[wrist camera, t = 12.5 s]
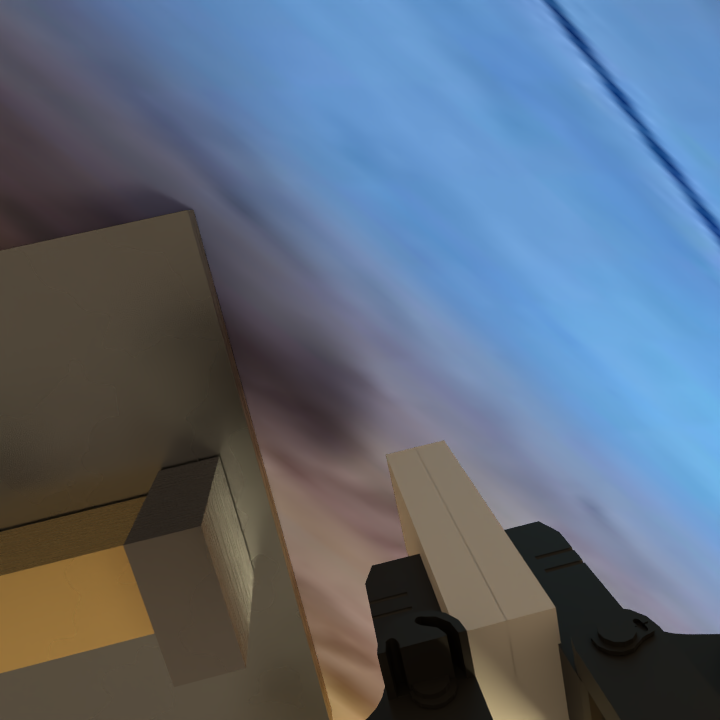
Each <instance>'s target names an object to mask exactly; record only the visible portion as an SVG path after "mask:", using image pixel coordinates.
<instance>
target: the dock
mask: <svg viewBox="0 0 720 720" xmlns="http://www.w3.org/2000/svg"><path fill="white" fill-rule="evenodd" d="M214 457H220V460H221V464H222V467H223V471H224V474H225V477H226V481H227V484H228V487H229V491H230V494H231V498H232V501H233V504H234V508H235V511H236V514H237V518H238V521H239V525H240V528H241V531H242V535H243V538H244V541H245V545H246V548H247V551H248V555H249V558H250V562H251V565H252V568H253V572H254V579H253V591H252V603H251V614H250V626H249V638H248V650H247V661H246V668H245V669H241V670H237V671H234V672H230V673H226V674H222V675H219V676H215V677H211V678H207V679H203V680H200V681H196V682H192V683H188V684H184V685H181V686H177V687H174V686H173V683H172V680H171V677H170V675H169V672H168V669H167V666H166V663H165V661H164V658H163V655H162V652H161V649H160V647H159V644H158V641H157V638H156V636H155V633H154V634H151V635H147V636H143V637H139V638H135V639H131V640H127V641H123V642H120V643H116V644H112V645H108V646H104V647H100V648H96V649H93V650H89V651H85V652H81V653H77V654H73V655H69V656H65V657H62V658H58V659H54V660H50V661H46V662H42V663H38V664H35V665H31V666H27V667H23V668H19V669H15V670H11V671H7V672H4V673H0V720H332V710H331V706H330V702H329V699H328V695H327V692H326V688H325V684H324V681H323V677H322V673H321V670H320V666H319V663H318V659H317V655H316V652H315V648H314V644H313V641H312V637H311V634H310V630H309V626H308V623H307V619H306V616H305V612H304V608H303V605H302V601H301V597H300V594H299V590H298V587H297V583H296V579H295V576H294V572H293V568H292V565H291V561H290V558H289V554H288V550H287V547H286V543H285V540H284V536H283V532H282V529H281V525H280V521H279V518H278V514H277V511H276V507H275V503H274V500H273V496H272V492H271V489H270V485H269V482H268V478H267V474H266V471H265V467H264V463H263V460H262V456H261V453H260V449H259V445H258V442H257V438H256V435H255V431H254V427H253V424H252V420H251V416H250V413H249V409H248V406H247V402H246V398H245V395H244V391H243V387H242V384H241V380H240V377H239V373H238V369H237V366H236V362H235V359H234V355H233V351H232V348H231V344H230V340H229V337H228V333H227V330H226V326H225V322H224V319H223V315H222V311H221V308H220V304H219V301H218V297H217V293H216V290H215V286H214V283H213V279H212V275H211V272H210V268H209V264H208V261H207V257H206V254H205V250H204V246H203V243H202V239H201V235H200V232H199V228H198V225H197V221H196V217H195V214H194V210H185V211H181V212H176V213H171V214H167V215H162V216H158V217H153V218H148V219H144V220H139V221H135V222H130V223H125V224H121V225H116V226H112V227H107V228H102V229H98V230H93V231H89V232H84V233H79V234H75V235H70V236H66V237H61V238H56V239H52V240H47V241H42V242H38V243H33V244H29V245H24V246H19V247H15V248H10V249H6V250H1V251H0V532H2V531H6V530H10V529H14V528H18V527H22V526H26V525H30V524H34V523H39V522H43V521H47V520H51V519H55V518H59V517H63V516H67V515H71V514H75V513H79V512H83V511H88V510H92V509H96V508H100V507H104V506H108V505H112V504H116V503H120V502H124V501H128V500H133V499H137V498H141V497H145V496H147V494H148V492H149V490H150V488H151V486H152V484H153V482H154V480H155V478H156V475H157V473H158V471H161V470H165V469H169V468H173V467H177V466H181V465H186V464H190V463H194V462H198V461H202V460H206V459H210V458H214Z"/></svg>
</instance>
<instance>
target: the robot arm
mask: <svg viewBox="0 0 720 720" xmlns="http://www.w3.org/2000/svg"><path fill="white" fill-rule="evenodd" d="M386 458H387V462H388V467H389V472H390V476H391V481H392V486H393V490H394V495H395V499H396V504H397V509H398V513H399V518H400V523H401V527H402V532H403V536H404V541H405V546H406V550H407V553H408V557H404V558H401V559H397V560H393V561H389V562H385V563H381V564H377V565H373V566H372V567H371V570H370V573H369V575H368V578H367V580H366V583H365V585H366V590H367V595H368V599H369V604H370V609H371V614H372V618H373V623H374V628H375V633H376V638H377V643H378V649H377V655H378V659H379V664H380V668H381V672H382V676H383V680H384V684H385V689H384V693H383V697H382V699H381V701H380V703H379V704H378V706H377V708H376V709H375V710H374V712H373V713H372V714H371V715H370V716H369V717H368V718H367V719H366V720H720V634H673V633H668V632H664V631H663V630H662V629H661V628H660V627H659V626H658V625H657V624H656V623H654V622H653V621H652V620H650V619H649V618H648V617H647V616H644V615H642V614H639V613H637V612H634V611H632V610H628V609H623V608H622V607H621V606H620V605H619V603H618V602H617V601H616V600H615V599H614V597H613V596H612V595H611V594H610V593H609V591H608V590H607V589H606V588H605V587H604V585H603V584H602V583H601V582H600V581H599V579H598V578H597V577H596V576H595V575H594V573H593V572H592V571H591V570H590V569H589V567H588V566H587V565H586V564H585V563H583V561H582V559H581V558H580V556H579V555H578V554H577V553H576V552H575V550H572V547H571V546H570V544H569V543H568V542H567V541H566V540H565V538H564V537H563V536H562V535H561V534H560V532H558V531H556V530H554V529H552V528H551V527H549V526H547V525H545V524H543V523H541V522H539V521H538V522H534V523H530V524H526V525H522V526H518V527H514V528H510V529H506V530H504V529H503V528H502V526H501V525H500V523H499V522H498V520H497V519H496V517H495V516H494V514H493V513H492V511H491V510H490V508H489V507H488V505H487V504H486V502H485V501H484V499H483V498H482V496H481V495H480V493H479V492H478V490H477V489H476V487H475V486H474V484H473V483H472V481H471V480H470V479H469V477H468V476H467V474H466V473H465V471H464V470H463V468H462V467H461V465H460V464H459V462H458V461H457V459H456V458H455V456H454V455H453V453H452V452H451V450H450V449H449V447H448V446H447V444H446V443H445V441H444V440H443V441H439V442H435V443H431V444H427V445H423V446H419V447H415V448H410V449H406V450H402V451H398V452H394V453H390V454H386Z"/></svg>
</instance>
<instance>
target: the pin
mask: <svg viewBox="0 0 720 720" xmlns="http://www.w3.org/2000/svg"><path fill="white" fill-rule="evenodd" d="M253 579H254V572H253V568H252V565H251V562H250V558H249V555H248V551H247V548H246V545H245V541H244V538H243V535H242V531H241V528H240V525H239V521H238V518H237V514H236V511H235V508H234V504H233V501H232V498H231V494H230V491H229V487H228V484H227V481H226V477H225V474H224V471H223V467H222V464H221V460H220V457H214V458H210V459H206V460H202V461H198V462H194V463H190V464H186V465H181V466H177V467H173V468H169V469H165V470H161V471H158V473H157V475H156V478H155V480H154V482H153V484H152V486H151V488H150V490H149V492H148V494H147V496H145V497H141V498H137V499H133V500H128V501H124V502H120V503H116V504H112V505H108V506H104V507H100V508H96V509H92V510H88V511H83V512H79V513H75V514H71V515H67V516H63V517H59V518H55V519H51V520H47V521H43V522H39V523H34V524H30V525H26V526H22V527H18V528H14V529H10V530H6V531H2V532H0V673H4V672H7V671H11V670H15V669H19V668H23V667H27V666H31V665H35V664H38V663H42V662H46V661H50V660H54V659H58V658H62V657H65V656H69V655H73V654H77V653H81V652H85V651H89V650H93V649H96V648H100V647H104V646H108V645H112V644H116V643H120V642H123V641H127V640H131V639H135V638H139V637H143V636H147V635H151V634H154V633H155V636H156V638H157V641H158V644H159V647H160V649H161V652H162V655H163V658H164V661H165V663H166V666H167V669H168V672H169V675H170V677H171V680H172V683H173V686H174V687H177V686H181V685H184V684H188V683H192V682H196V681H200V680H203V679H207V678H211V677H215V676H219V675H222V674H226V673H230V672H234V671H237V670H241V669H245V668H246V661H247V650H248V638H249V626H250V614H251V603H252V591H253Z"/></svg>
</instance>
